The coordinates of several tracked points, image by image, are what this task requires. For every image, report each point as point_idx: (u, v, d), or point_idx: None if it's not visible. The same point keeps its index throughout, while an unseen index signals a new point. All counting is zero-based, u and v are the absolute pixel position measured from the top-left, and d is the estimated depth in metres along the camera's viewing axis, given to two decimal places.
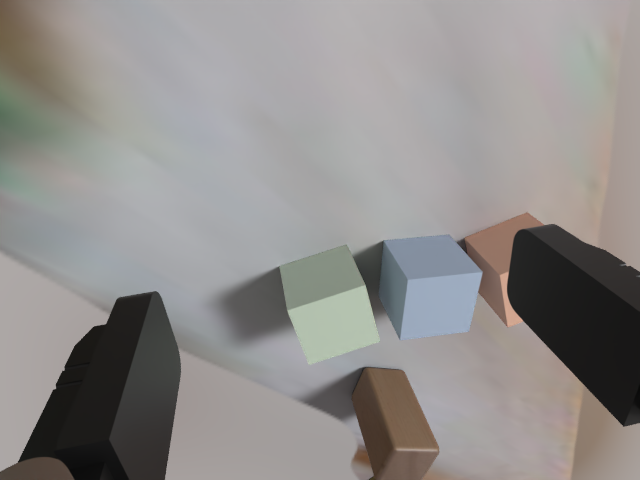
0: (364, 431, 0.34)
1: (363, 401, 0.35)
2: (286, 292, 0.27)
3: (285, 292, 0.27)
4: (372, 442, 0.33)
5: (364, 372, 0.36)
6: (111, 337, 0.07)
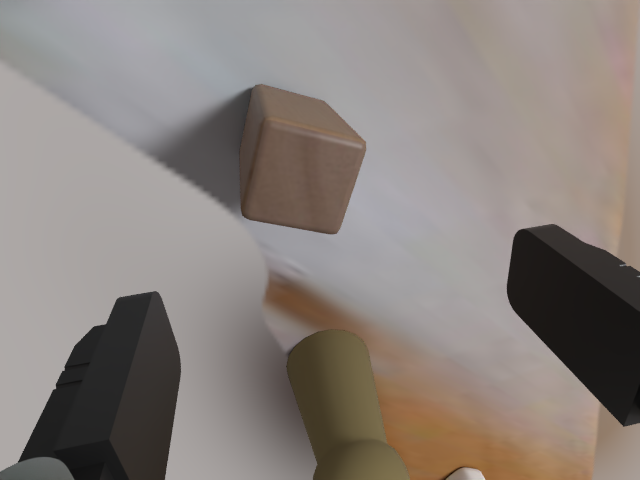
0: (242, 166, 0.19)
1: (247, 128, 0.20)
2: None
3: None
4: (246, 161, 0.17)
5: (252, 89, 0.21)
6: (111, 337, 0.07)
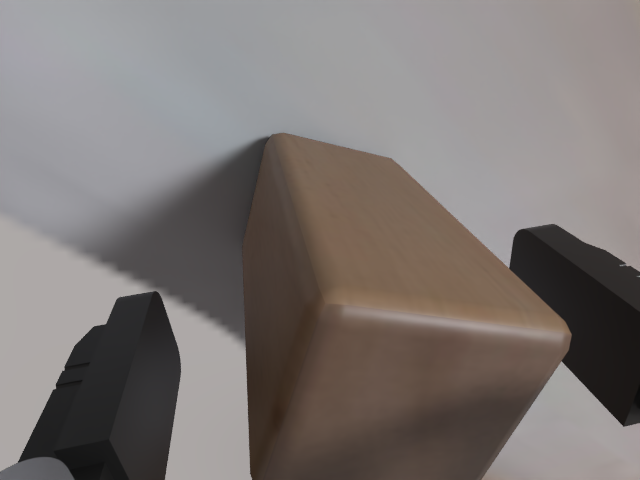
0: (249, 310, 0.09)
1: (257, 221, 0.10)
2: None
3: None
4: (260, 329, 0.08)
5: (267, 142, 0.11)
6: (111, 337, 0.07)
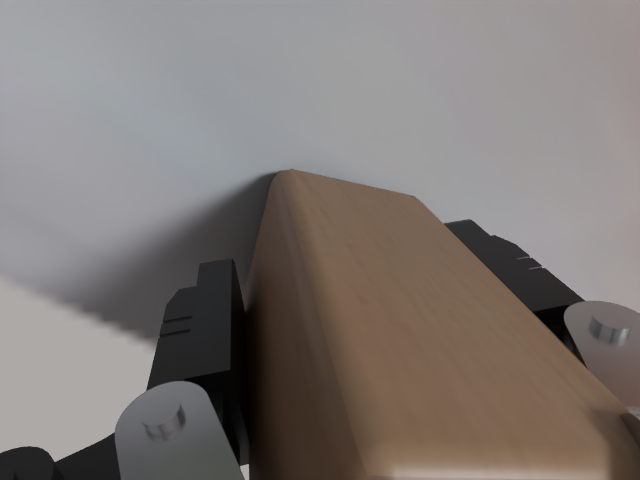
0: (253, 390, 0.08)
1: (262, 276, 0.09)
2: None
3: None
4: (267, 432, 0.06)
5: (273, 180, 0.10)
6: (205, 294, 0.08)
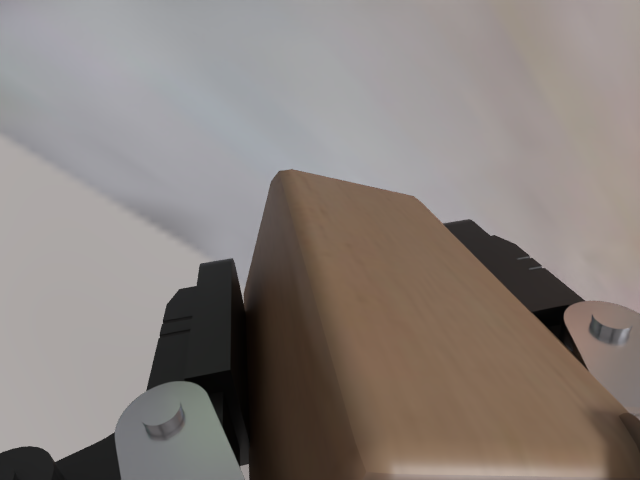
0: (253, 390, 0.08)
1: (262, 276, 0.09)
2: None
3: None
4: (266, 432, 0.06)
5: (273, 180, 0.10)
6: (205, 294, 0.08)
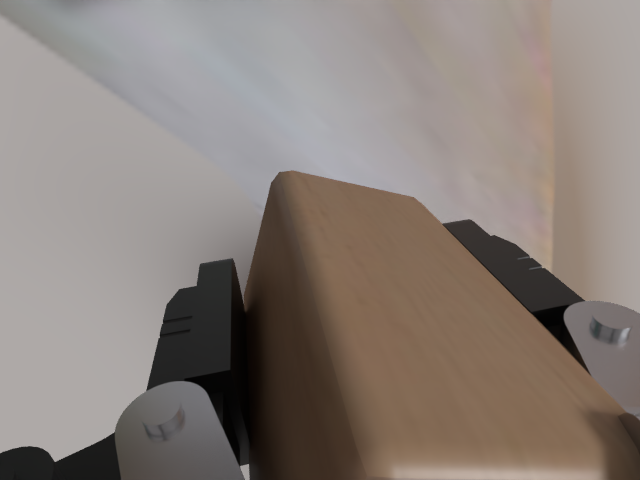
0: (253, 391, 0.08)
1: (262, 278, 0.09)
2: None
3: None
4: (267, 433, 0.06)
5: (273, 182, 0.10)
6: (205, 294, 0.08)
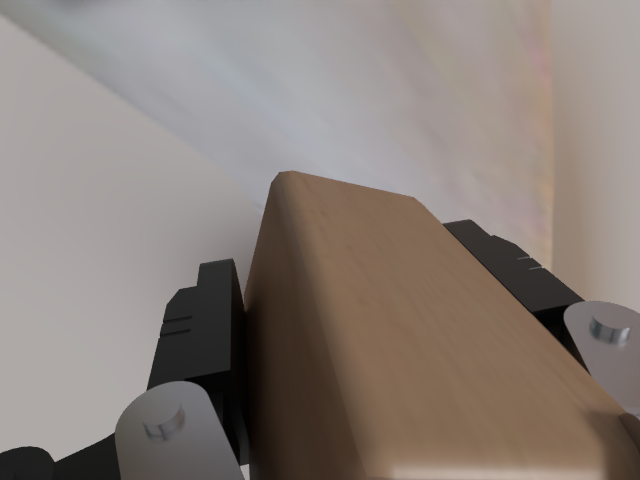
0: (253, 391, 0.08)
1: (263, 278, 0.09)
2: None
3: None
4: (267, 434, 0.06)
5: (273, 182, 0.10)
6: (205, 294, 0.08)
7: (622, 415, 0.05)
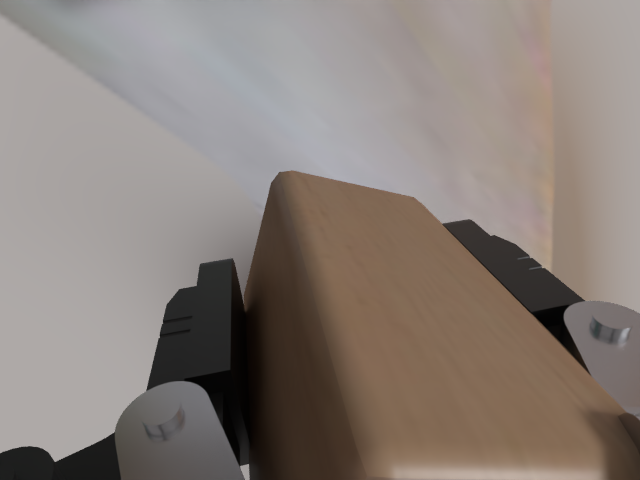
0: (253, 391, 0.08)
1: (263, 278, 0.09)
2: None
3: None
4: (267, 434, 0.06)
5: (273, 182, 0.10)
6: (205, 294, 0.08)
7: (622, 415, 0.05)
